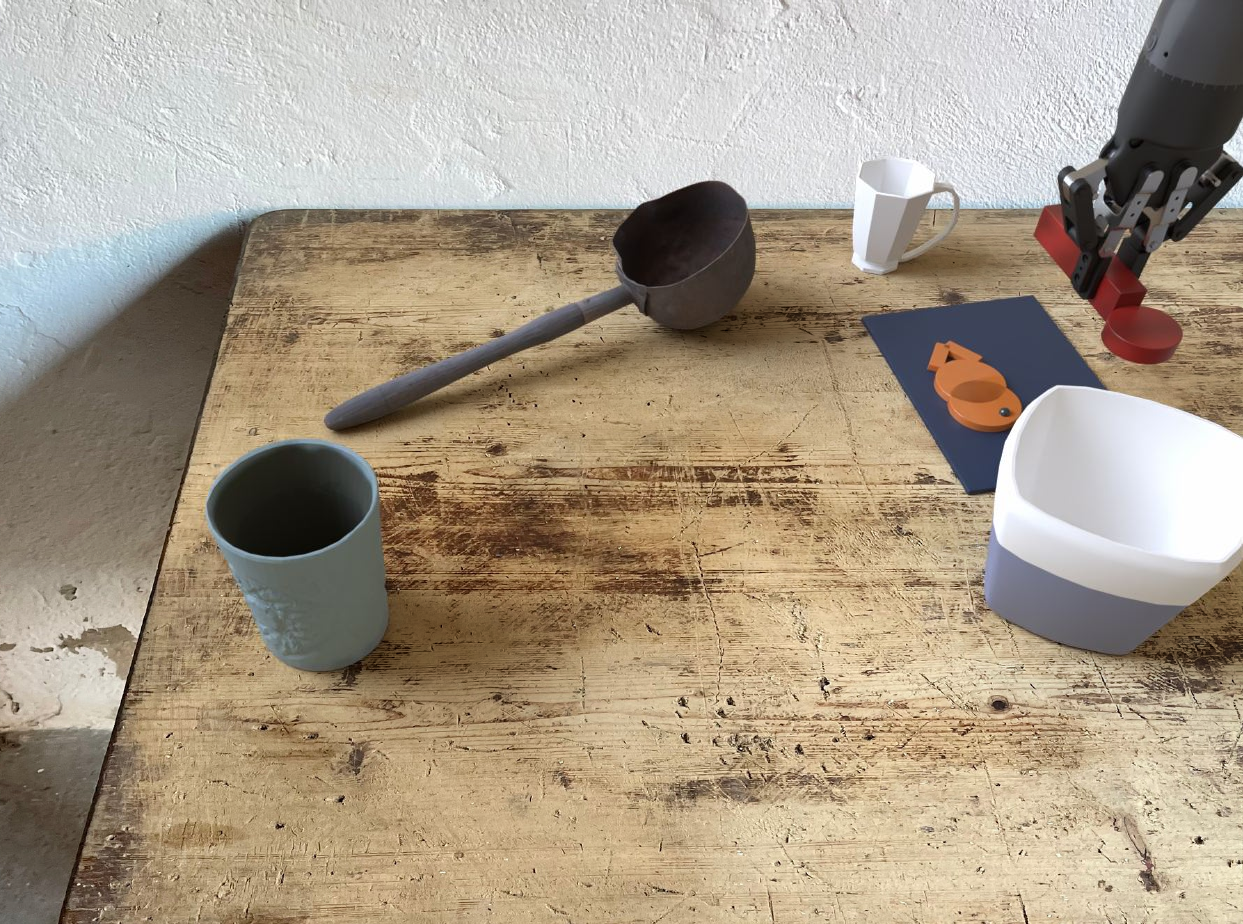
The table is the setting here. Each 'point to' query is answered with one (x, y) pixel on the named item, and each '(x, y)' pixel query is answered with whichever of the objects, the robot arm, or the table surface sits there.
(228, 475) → the blue green tumbler
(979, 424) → the fish
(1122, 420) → the bowl
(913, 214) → the cup
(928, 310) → the towel
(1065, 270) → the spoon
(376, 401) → the ladle
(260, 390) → the table surface
